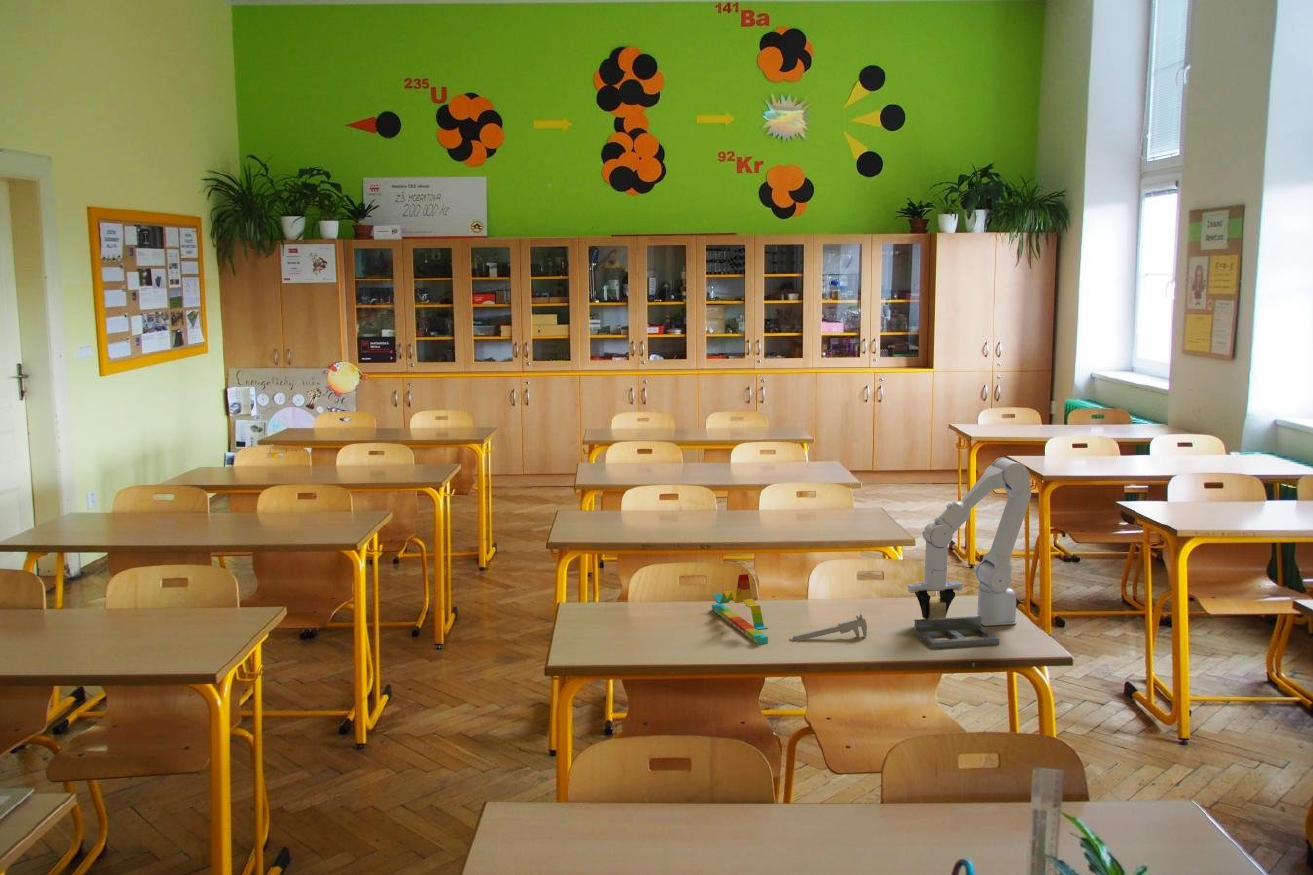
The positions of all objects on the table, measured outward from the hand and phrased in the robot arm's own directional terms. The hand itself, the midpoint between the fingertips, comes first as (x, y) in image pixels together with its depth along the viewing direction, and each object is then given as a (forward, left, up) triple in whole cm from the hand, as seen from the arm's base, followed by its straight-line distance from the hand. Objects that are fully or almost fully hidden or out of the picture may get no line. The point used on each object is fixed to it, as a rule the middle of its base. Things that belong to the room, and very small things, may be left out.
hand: (934, 617), depth 294 cm
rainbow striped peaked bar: (+52, -7, -2) cm, 53 cm away
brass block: (0, 0, -1) cm, 1 cm away
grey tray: (0, +14, -2) cm, 14 cm away
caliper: (+32, +7, -2) cm, 33 cm away
